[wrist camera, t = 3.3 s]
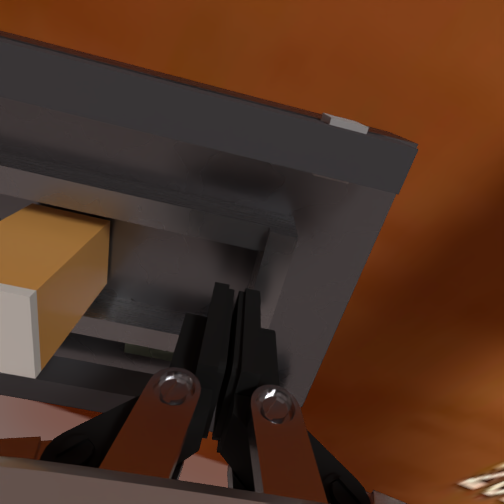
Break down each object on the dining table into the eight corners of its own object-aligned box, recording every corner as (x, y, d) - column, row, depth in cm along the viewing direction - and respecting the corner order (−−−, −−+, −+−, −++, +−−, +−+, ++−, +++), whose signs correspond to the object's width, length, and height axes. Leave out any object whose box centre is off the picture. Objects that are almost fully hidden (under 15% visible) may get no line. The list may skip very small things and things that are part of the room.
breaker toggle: (110, 220, 14) (29, 297, 9) (107, 283, 15) (35, 379, 10) (32, 203, 13) (-94, 272, 9) (36, 268, 15) (-72, 359, 10)
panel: (389, 132, 15) (444, 155, 10) (296, 365, 21) (306, 442, 17) (-213, -26, 13) (-465, -80, 8) (-120, 283, 19) (-236, 346, 15)
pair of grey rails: (393, 131, 12) (421, 142, 10) (282, 406, 18) (285, 447, 16) (-304, -51, 10) (-446, -84, 8) (-158, 324, 17) (-217, 359, 15)
